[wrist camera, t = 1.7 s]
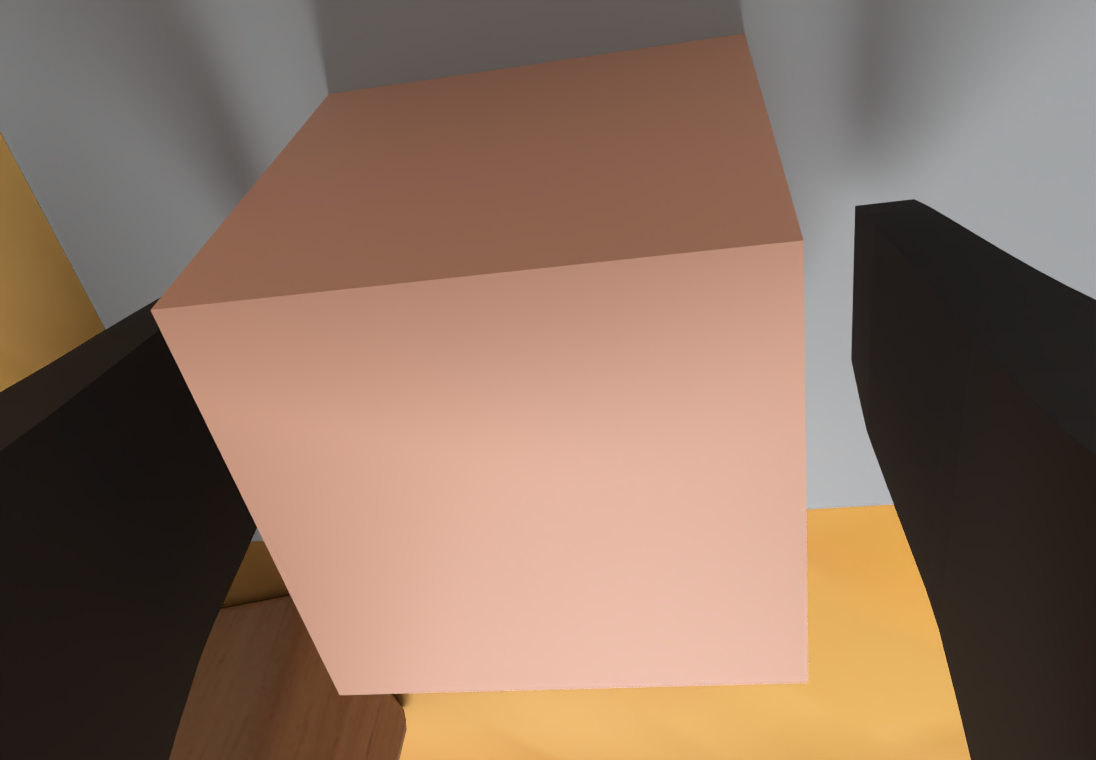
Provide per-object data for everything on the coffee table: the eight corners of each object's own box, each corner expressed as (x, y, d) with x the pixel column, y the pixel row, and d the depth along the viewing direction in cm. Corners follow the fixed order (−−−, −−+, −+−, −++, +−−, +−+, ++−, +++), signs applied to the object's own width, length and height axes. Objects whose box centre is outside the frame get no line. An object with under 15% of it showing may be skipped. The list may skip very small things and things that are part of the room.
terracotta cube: (760, 386, 13) (808, 683, 9) (428, 413, 14) (339, 695, 10) (744, 33, 10) (803, 240, 6) (328, 94, 11) (149, 310, 7)
